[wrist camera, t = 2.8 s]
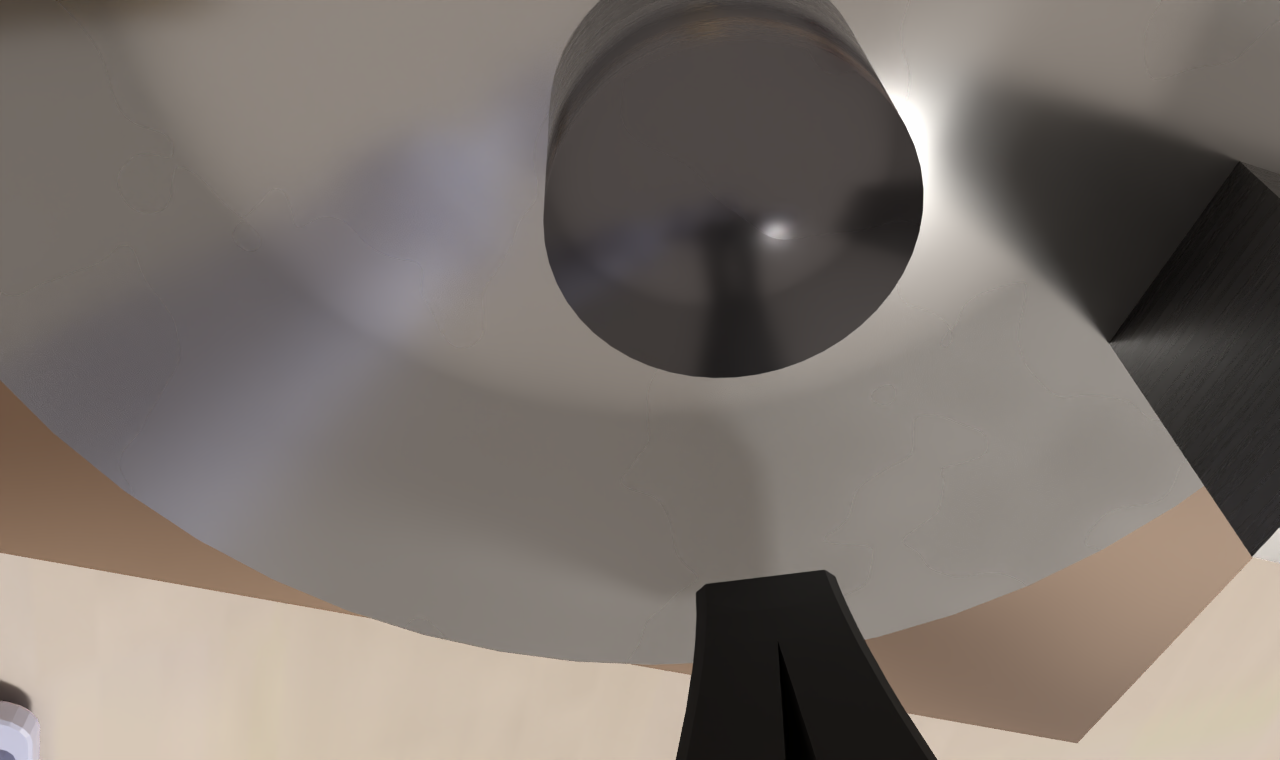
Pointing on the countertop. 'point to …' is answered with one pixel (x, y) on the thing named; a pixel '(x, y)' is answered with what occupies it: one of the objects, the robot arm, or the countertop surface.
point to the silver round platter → (649, 292)
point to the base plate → (910, 660)
